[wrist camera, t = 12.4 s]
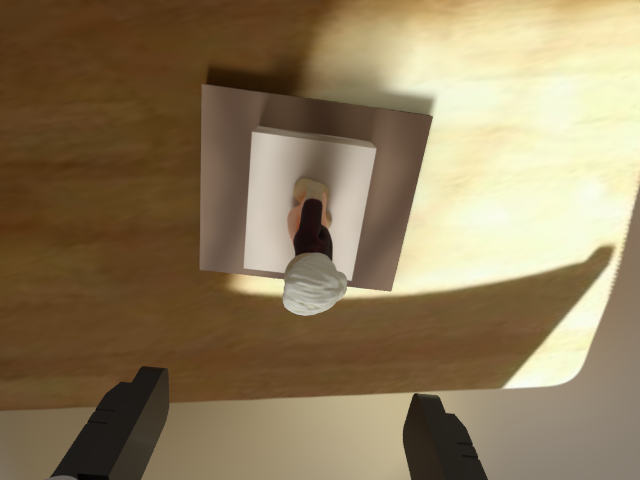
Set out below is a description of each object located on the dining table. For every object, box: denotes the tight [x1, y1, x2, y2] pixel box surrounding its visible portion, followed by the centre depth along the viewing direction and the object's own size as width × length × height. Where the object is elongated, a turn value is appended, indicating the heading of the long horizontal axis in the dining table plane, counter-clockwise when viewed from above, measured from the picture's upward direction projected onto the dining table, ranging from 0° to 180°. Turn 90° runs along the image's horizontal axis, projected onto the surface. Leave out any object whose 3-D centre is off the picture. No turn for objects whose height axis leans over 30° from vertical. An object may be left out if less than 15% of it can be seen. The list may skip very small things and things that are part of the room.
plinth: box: [200, 84, 433, 291], centre depth 32 cm, size 18×16×5 cm
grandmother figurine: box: [283, 178, 347, 315], centre depth 24 cm, size 8×4×13 cm, turn 13°
